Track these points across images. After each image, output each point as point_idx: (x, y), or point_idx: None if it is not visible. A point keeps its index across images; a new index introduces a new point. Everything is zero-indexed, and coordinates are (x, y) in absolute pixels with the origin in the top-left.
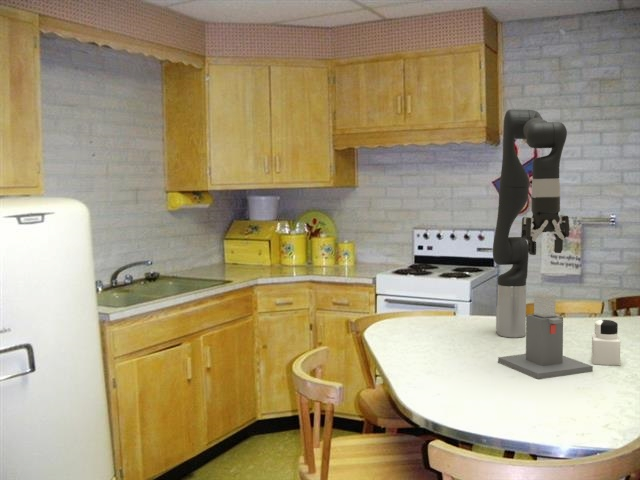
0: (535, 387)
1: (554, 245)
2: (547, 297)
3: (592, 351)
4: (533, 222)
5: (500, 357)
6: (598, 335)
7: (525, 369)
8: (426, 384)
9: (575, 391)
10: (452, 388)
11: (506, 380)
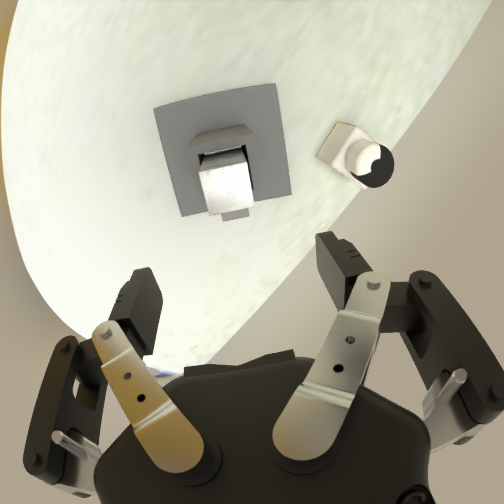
0: (165, 246)
1: (328, 254)
2: (224, 210)
3: (329, 147)
4: (117, 456)
5: (157, 110)
6: (346, 164)
7: (173, 185)
8: (38, 213)
9: (211, 269)
10: (64, 233)
11: (135, 210)
